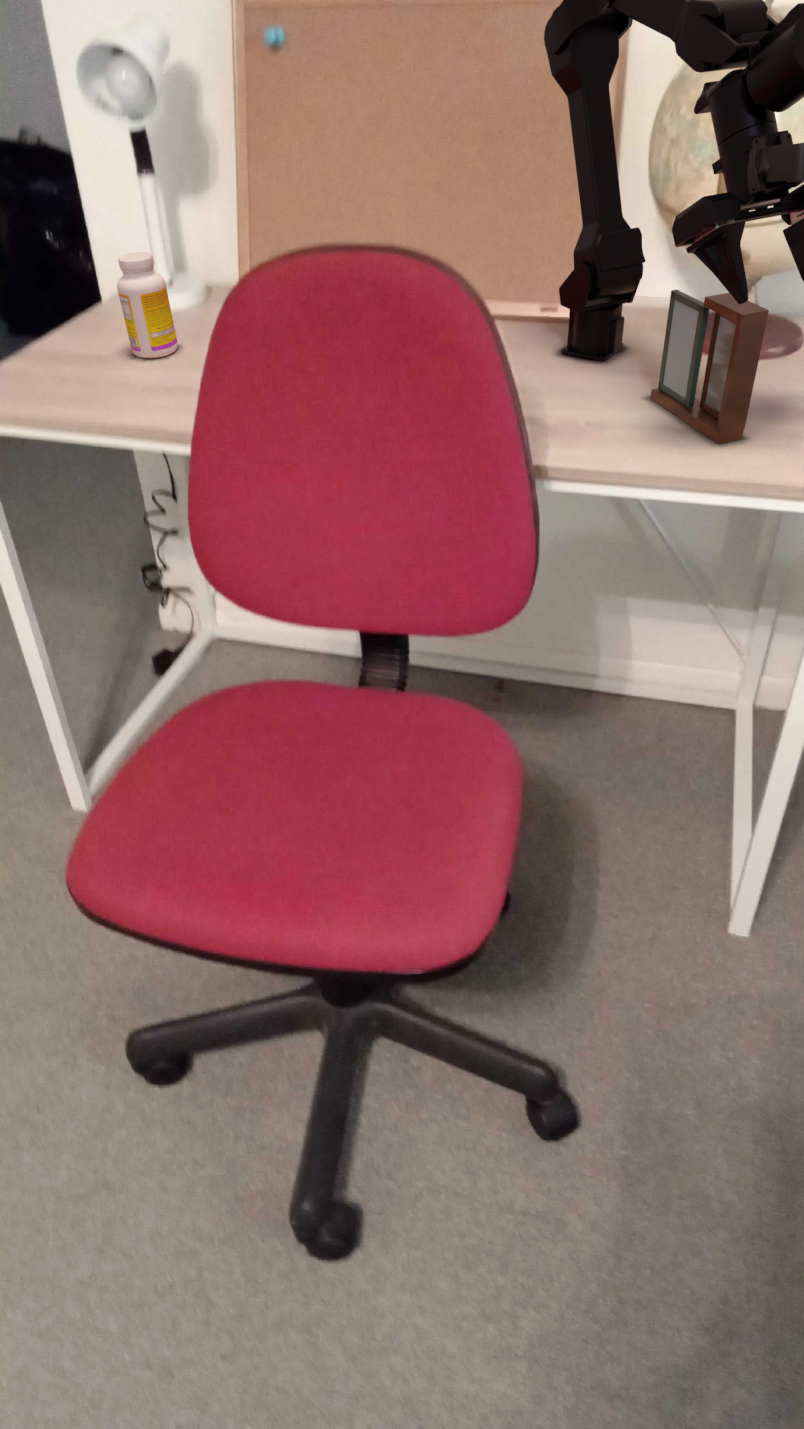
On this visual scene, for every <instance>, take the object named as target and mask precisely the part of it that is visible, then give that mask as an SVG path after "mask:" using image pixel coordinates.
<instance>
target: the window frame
mask: <svg viewBox="0 0 804 1429" xmlns="http://www.w3.org/2000/svg"><path fill="white" fill-rule="evenodd" d="M703 303H704V307H706V308H708V309H709V311H712V312H714V317H713V324H712V330H711V336H710V340H709V347H708V354H707V360H706V365H705V372H704V377H703V383H702V390H701V395H700V400H699V399H697V398H696V397H695V400H694V406H693V407H689V408H687V407H686V406H684V405H683V404H681V403H680V402H678V401H677V400H675V399H674V398H672V397H670V396H669V395H667V394H666V393H664V392H663V391H661V390H660V389H658V387H656V388H652V389H651V391H650V398H649V399H650V400H651V401H653V402H655V403H656V404H657V405H659V406H661V407H662V408H664V409H665V410H666V411H668V412H670V413H671V414H673V415H674V416H675V417H677V418H678V419H680V420H681V421H683V422H684V423H686V424H687V425H689V426H690V427H692V428H694V429H695V430H697V431H698V432H700V433H701V434H702V435H704V436H705V437H707V438H708V439H710V440H711V441H713V442H714V443H716V444H718V445H719V444H724V443H728V442H733V441H738V440H739V441H740V440H742V439H743V436H744V433H745V432H744V431H745V429H746V425H747V419H748V415H749V409H750V405H751V401H752V395H753V389H754V385H755V381H756V376H757V370H758V365H759V361H760V355H761V351H762V346H763V340H764V336H765V331H766V327H767V322H768V317H769V311H770V310H769V309H767V308H765V307H763V306H760V305H758V304H757V303H754V302H752V301H749V300H748V301H747V302H745V303H743V304H738V303H737V301H736V300H735V299H734V298H733V297H732V295H731V294H730V293H729V292H726V293H719V294H713V295H707V296H704V301H703Z"/></svg>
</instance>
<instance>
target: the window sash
mask: <svg viewBox="0 0 804 1429" xmlns="http://www.w3.org/2000/svg"><path fill="white" fill-rule="evenodd" d="M709 313H710V309H708V308H706V307H704V301H701V300H699V299H697V298H695V297H693V296H691V295H689V294H687V293H685V292H683V291H681V290H679V289H672V290H671V291H670V298H669V305H668V312H667V320H666V326H665V334H664V340H663V341H664V342H663V349H662V355H661V356H662V357H661V362H660V370H659V378H658V385H657V388H658V389H660V390H661V391H663V392H664V393H666V394H667V395H669V396H670V397H672V398H674V399H675V400H677V401H678V402H680V403H681V404H683V405H684V406H686V407H687V408H689V407H693V406H694V400H695V398H696V393H697V387H698V382H699V374H700V369H701V363H702V356H703V351H704V345H705V338H706V332H707V326H708V319H709Z"/></svg>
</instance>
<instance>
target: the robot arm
mask: <svg viewBox="0 0 804 1429" xmlns="http://www.w3.org/2000/svg"><path fill="white" fill-rule="evenodd" d="M768 10H769V8H768V5H767V4H766V2H765V1H764V0H562V1H561V3H560V4H559V5H558V6H557V7H555V9H554V10H553V11H552V13H551V15H550V17H549V19H548V20H547V22H546V24H545V27H544V31H543V32H544V33H543V41H544V47H545V50H546V55H547V60H548V64H549V69H550V73H551V76H552V77H553V79H554V80H555V82H556V83H557V85H558V86H559V88H560V89H561V91H563V93H564V95H565V96H566V99H567V103H568V111H569V112H568V113H569V119H570V120H569V122H570V128H571V136H572V138H571V139H572V145H573V146H572V147H573V153H574V163H575V170H576V179H577V187H578V195H579V196H578V198H579V206H580V213H581V220H582V223H581V224H582V228H581V231H580V233H579V236H578V239H577V242H576V243H575V247H574V249H573V270H572V271H571V272H570V274H569V275H568V276H567V277H566V278H565V280H564V281H563V282H562V283H561V285H560V286H559V287H558V295H559V301H560V302H559V303H560V306H562V307H564V308H565V309H568V310H569V314H568V326H567V327H568V328H567V342H566V343H567V344H566V346H564V347H562V348H561V350H560V353H561V354H562V355H563V354H564V355H568V356H574V357H579V358H582V359H583V358H584V359H589V360H593V361H599V362H603V361H604V362H605V361H606V360H607V359H609V358H610V357H611V356H613V355H615V353H617V352H619V351H620V350H621V349H623V348H624V343H623V338H624V337H623V336H624V328H625V320H626V319H625V317H624V316H623V306H624V304H631V303H633V302H634V299H635V296H636V293H637V291H638V288H639V285H640V282H641V280H642V278H643V276H644V263H646V258H645V254H644V250H643V234H642V231H641V228H640V227H638V226H637V227H633V228H632V227H631V226H630V225H629V223H628V222H627V220H626V219H625V218H624V215H623V214H624V213H623V208H622V206H623V205H622V198H621V188H620V179H619V169H618V161H617V160H618V159H617V152H616V149H617V148H616V140H615V130H614V121H613V111H612V103H611V102H612V101H611V93H610V83H611V81H612V78H613V75H614V72H615V69H616V66H617V63H618V61H619V58H620V39H621V38H622V37H623V36H624V35H625V34H626V32H628V30H630V28H631V27H632V25H633V22H634V21H635V22H638V23H639V24H641V25H643V26H646V27H647V28H649V29H651V30H653V31H654V32H657V33H658V34H661V35H663V36H665V37H667V38H669V39H670V40H671V41H672V43H674V47H675V48H674V49H675V53H676V55H677V56H678V58H680V60H682V61H683V62H684V64H686V65H687V66H688V67H689V68H690V69H691V70H693V71H694V72H696V73H709V72H710V73H711V72H717V71H718V72H719V71H726V70H731V71H729V72H728V73H726V74H725V75H724V76H723V77H722V78H721V79H719V80H715V81H707V82H704V84H703V87H702V90H701V93H700V95H699V97H698V98H697V100H696V102H695V105H694V106H693V113H694V114H695V115H701V114H708V113H709V114H710V117H711V121H712V127H713V131H714V137H715V141H716V147H717V151H718V156H719V158H718V159H716V161H714V162H713V163H712V164H711V166H712V171H713V175H720V174H722V175H723V181H724V185H725V190H726V192H722V193H716V194H709V195H705V196H702V197H701V198H699V199H698V200H696V201H695V202H694V203H692V204H691V205H690V206H688V207H686V208H685V209H684V210H682V211H681V212H679V213H678V214H676V215H675V218H674V221H673V223H672V227H671V233H672V237H673V242H674V246H675V248H680V247H684V246H685V248H686V249H685V251H686V253H687V254H693V255H695V257H697V259H699V260H700V262H701V263H703V265H704V266H705V267H706V268H707V269H708V270H709V271H710V272H711V273H712V274H713V275H714V276H715V277H716V278H717V280H718V281H719V282H720V283H721V285H722V286H723V287H724V288H725V289H726V291H728V292H727V293H730V294H731V295H732V297H733V298H734V299H735V300H736V301H737V303H738V304H743V303H745V302H747V301H749V288H748V280H747V276H746V269H745V263H744V258H743V253H742V246H741V242H742V237H743V234H744V230H745V226H746V223H747V222H753V221H757V220H763V219H768V218H773V217H779V216H780V217H781V220H782V221H783V222H784V223H785V224H786V225H788V227H786V228H784V229H782V233H783V236H784V239H785V241H786V244H787V247H788V248H789V251H790V253H791V256H792V258H793V260H794V263H795V265H796V269H797V271H798V273H799V276H800V278H801V280H802V282H803V283H804V142H800V143H794V142H793V137H792V133H790V132H789V130H788V129H786V130H781V131H779V130H778V122H777V118H776V117H777V116H776V113H783V112H785V111H787V110H789V109H790V108H792V106H794V105H796V104H797V103H798V102H799V101H801V100H802V99H803V98H804V2H800V3H797V4H796V5H795V6H793V7H792V8H791V9H790V10H789V12H787V13H786V15H785V16H784V17H783V19H782V20H780V21H779V22H778V21H777V20H775V19H774V18H773V17H772V16H770V15H769V14H768ZM801 184H802V185H801ZM792 188H793V190H791V189H792ZM794 188H795V189H794ZM790 190H791V191H790ZM686 246H688V247H686Z"/></svg>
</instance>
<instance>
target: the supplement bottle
mask: <svg viewBox="0 0 804 1429" xmlns="http://www.w3.org/2000/svg"><path fill="white" fill-rule="evenodd" d="M117 260H118V267H119V269H120V270H121V272H122V276H121V277H120V278H119V279H118V280H117V283H116V288H117V293H118V297H119V301H120V306H121V310H122V313H123V319H124V324H125V328H126V331H127V332H126V333H127V336H128V340H129V344H130V348H131V351H132V353H133V354H134V356H136V357H139V358H143V359H154V358H155V359H156V358H163V357H166V356H170V355H171V354H173V353H174V352H176V351H177V349H178V347H179V345H178V338H177V333H176V328H175V324H174V318H173V314H172V309H171V304H170V300H169V294H168V289H167V284H166V280H165V278H164V276H163V275H161V274H160V273H158V272H156V271H155V269H154V267H155V262H154V261H155V260H154V256H153V254H152V253H151V252H146V251H145V252H144V251H143V252H142V251H140V252H139V251H137V252H129V253H126V254H123V255H120V256H119V257H118V258H117Z"/></svg>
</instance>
